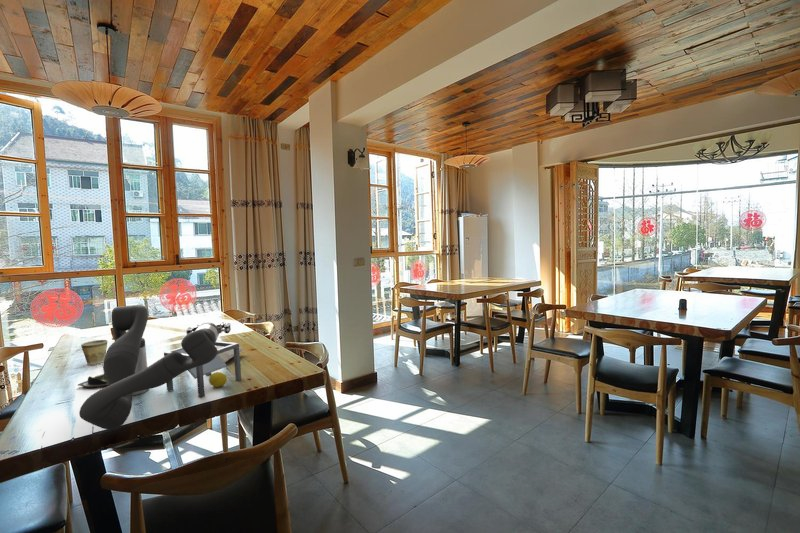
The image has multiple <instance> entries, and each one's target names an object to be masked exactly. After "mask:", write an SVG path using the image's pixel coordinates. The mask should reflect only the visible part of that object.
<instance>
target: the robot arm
mask: <svg viewBox="0 0 800 533" xmlns="http://www.w3.org/2000/svg"><path fill="white" fill-rule="evenodd" d="M148 318H149V312H148V309H147V307H146V306H144V305H141V304H134V305H121V306H116V307H113V308H112V310H111V325H112V331H113V339H114V342H112V343H111V344H110V346H108V347H107V349H106V356H105V359H104V362H102V363H103V364H102V370H103V374H105V377H106V380H107V382H108V385H109V386H107V387H105V388H100V389H99V390H98V391H95V392H94V393H93V394H91V395H90V396H88V397H87V398H86V399H85V401H84V402H83V403H82V405H81V406H80V409H79V413H78V414H79V418H80V419H82V420H83V421H85V422H87V423H89V424H91V425H93V426H96V427H98V428H101V429H104V430H107V431H113V430H117V429H119V428H120V427H122V426H123V425H124V424H125V422H127V420H128V418H129V416H130V413H131V410H132V408H133V396H137V395H140V394H143V393H145V392H147V391H149V390H150V389H155V388H158V387H161V386H163V385H166V383H167V382H169V381H170V380H172V379H173V380H174V379H175V378H176V377H178V376H179V375H181V374H183V373H185V372H187V371H188V370H189V369H192V368H195V367H198V366H201V365H204V364H207V363H209V362H210V361H212V360H213V359H214V358H215V357H216V355H217V348H216V346H215V345H214V344H215V342H216V341H218V338H219V335H220V334H222V333H223V332H224V333H225V334H229V333H230V332H231V323H225V321H224V322H221V323H216V324H215V323H213V322H203V323H201V324H197V325H196V326H192V327H191V326H190V327H187V328H186V335H185V336H184V337H183V338H182V340H181V347H182V348H183V349H184V350H185V352H186V353H187V354H188V355H189V356H190V357H191V358H188V357H185V356H184V355H182V354H181V353H179V352H176V351H174V352H171V353H169V354H167V355H166V356H164V355H163V357H161V358H160V359H157V361H155V362H154V363H152V364H151V365H149V366H148V362H147V348H146V341H145V340H146V339H145V338H144V337H143V336H144V333H145V330H146V327H147V323H148V320H149V319H148Z"/></svg>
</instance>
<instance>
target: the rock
mask: <svg viewBox="0 0 800 533" xmlns="http://www.w3.org/2000/svg"><path fill="white" fill-rule="evenodd" d="M215 347H216V348H217V349H220V348H223V346H215ZM243 349H244V348H243V346H240V345H239V353H241V352H242V351H243ZM217 355H218V356H219V357H220V358H221V359H222V361H223V362H224V363H225V364H226V362H228V361H229V360H231V359H233V358H234V349H232V350H229V351H226V352H223V353H220V354H217Z"/></svg>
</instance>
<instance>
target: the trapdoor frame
mask: <svg viewBox="0 0 800 533" xmlns="http://www.w3.org/2000/svg"><path fill="white" fill-rule="evenodd" d="M214 345H215V347H216V346H223V348H220V349H217V354H220V353H223V352H226V351H229V350H232V349H234V356H233V359H234V361H233V362H234V373H235V374H234V375H235V381H241V380H242V371H241V370H242V368H241V367H242V366H241V358H240V356H241V355H240V354H241V352H239V346H240V343H239V342H238V343H237V342H229V341H218V340H217V341H216V342H215V344H214ZM180 349H183V348H182V346H181V347H178V348H175V349H171V350H169V351H168V350H167V351H164V352H163V357H164V356H166V355H167V354H169V353H171V352H174V351H176V350H180ZM181 354H182V355H184V356H185V357H188V358H191V357H190V356H189V355H188V354H184V353H181ZM196 372H197V378H196V384H197V393H198V394H197V395H198V398H203V397H205V396H206V392H205V380H204V376H203V365H201V366H198V367H196ZM209 375H210V376H211V375H212V372H211V373H209V374H206V375H205V376H206V377H210V376H209ZM173 380H174V378H173V379H172V380H170V381H169V382H167V383H165V385H166V391H167V390H168V391H167V392H171V391H170V390H172V391H174V381H173Z"/></svg>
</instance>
